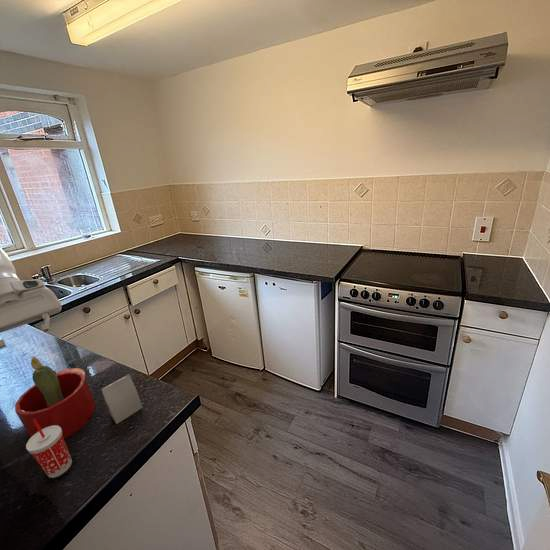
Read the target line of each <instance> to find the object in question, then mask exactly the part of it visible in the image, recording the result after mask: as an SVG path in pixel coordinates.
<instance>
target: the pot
mask: <svg viewBox="0 0 550 550" xmlns="http://www.w3.org/2000/svg"><path fill="white" fill-rule="evenodd" d="M56 376H57V378H58V381H59V386H60V389H61V392H62V396H63V398H64V400H62V401H61V402H59V403H57V404H55V405H53V406H51V407H48V408H47V404H46V400H45V398H44V396H43V394H42V392H41V391H40V390H39V388H38V387H37V386H36V385H35V384H34V385H33V386H31V387H29V388H28V389H26V391H25V392H23V394H21V395H20V396H19V397H18V399H17V401H16V403H15V404H14V411H15V413H16V415H17V417H18V418H19V421H20V423H21V424H22V426H23V428H24V429H25V431H26V433H27V435H28V437H29V439H30V438H31V437H32V436H33V435H34V434H36V433H37V432H39V431H38V429H37V427H36V425H35V423H34V422H33V419H36V420H37V422H38V424H39V426H40V428H41V430H42V429H44V428H46V427H49V426H53V425H55V426H59V427H61V430H62V436H63V438H64V439H66V438H68V437H70V436H71V435H74V434H75V433H77V432H78V431H79V430H81V429H82V428H83V427H84V426H86V424H88V422H89V421H90V420H91V419H92V418H91V417H92V415H93V414H94V413H95V410H96V406H97V403H96V401H95V397H94V396H93V393H92V392H91V390H90V387H89V384H88V382H87V379H86V377H84V375H83V374H82V373H79V372H76V371H75V372H65V373H61V374H57V375H56Z"/></svg>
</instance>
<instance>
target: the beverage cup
mask: <svg viewBox="0 0 550 550" xmlns="http://www.w3.org/2000/svg"><path fill="white" fill-rule="evenodd" d="M33 422H34V423H35V425H36V427H37V429H38V431H39V432H37V433H36V434H34V435H33V436H32V437H31V438H30V437H29V439H28V441H27V443H26V444H25V449H26V450H27V452H28V453H29V454H31V455H32V456H33V458H34V459H35V461H36V462H37V463H38V465H39V466H40V467H41V469H42V470H43V471H44V473H45V474H46V476H47V477H48V478H49V479H50V478H52V479H54V478H57V477H60V476H61V475H63V474H64V473H66V472H67V471H68V470H69V468H71V466H72V463H73V460H72V457H71V453H70V452H69V449H68V446H67V443H66V442H65V438H63V436H62V430H61V427H59V426H55V425H53V426H49V427H46V428H44V429H42V430H41V428H40V426H39V424H38V422H37V420H36V419H33Z"/></svg>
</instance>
